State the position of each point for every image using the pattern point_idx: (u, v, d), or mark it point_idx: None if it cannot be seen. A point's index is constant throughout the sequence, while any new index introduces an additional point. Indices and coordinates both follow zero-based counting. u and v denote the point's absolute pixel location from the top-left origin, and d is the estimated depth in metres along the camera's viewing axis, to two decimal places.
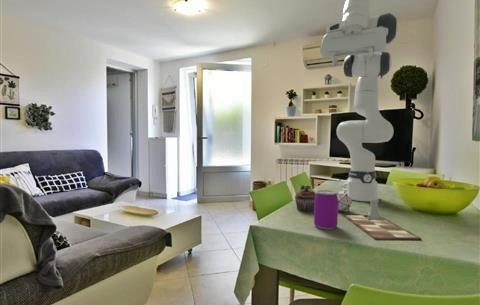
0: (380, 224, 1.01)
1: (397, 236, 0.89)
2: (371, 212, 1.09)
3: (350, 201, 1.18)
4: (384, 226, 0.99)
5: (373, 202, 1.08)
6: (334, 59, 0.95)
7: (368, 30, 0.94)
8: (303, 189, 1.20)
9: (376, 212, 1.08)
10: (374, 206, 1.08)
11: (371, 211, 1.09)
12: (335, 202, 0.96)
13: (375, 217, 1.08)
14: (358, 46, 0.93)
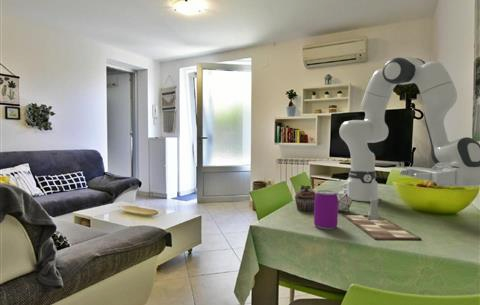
0: (380, 224, 1.01)
1: (397, 236, 0.89)
2: (371, 212, 1.09)
3: (350, 201, 1.18)
4: (384, 226, 0.99)
5: (373, 202, 1.08)
6: None
7: None
8: (303, 189, 1.20)
9: (376, 212, 1.08)
10: (374, 206, 1.08)
11: (371, 211, 1.09)
12: (335, 202, 0.96)
13: (375, 217, 1.08)
14: None
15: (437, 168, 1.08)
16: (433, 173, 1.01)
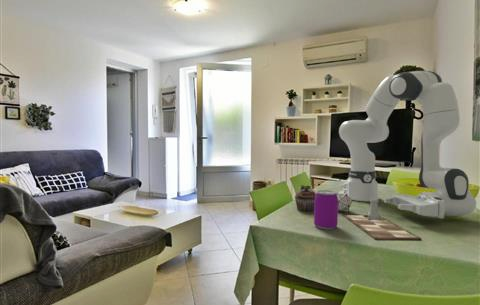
0: (380, 224, 1.01)
1: (397, 236, 0.89)
2: (371, 212, 1.09)
3: (350, 201, 1.18)
4: (384, 226, 0.99)
5: (373, 202, 1.08)
6: None
7: None
8: (303, 189, 1.20)
9: (376, 212, 1.08)
10: (374, 206, 1.08)
11: (371, 211, 1.09)
12: (335, 202, 0.96)
13: (375, 217, 1.08)
14: None
15: (421, 198, 1.08)
16: (416, 205, 1.02)
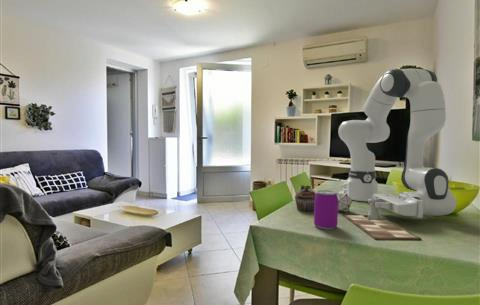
0: (380, 224, 1.01)
1: (397, 236, 0.89)
2: (371, 212, 1.09)
3: (350, 201, 1.18)
4: (384, 226, 0.99)
5: (373, 202, 1.08)
6: None
7: None
8: (303, 189, 1.20)
9: (376, 212, 1.08)
10: (374, 206, 1.08)
11: (371, 211, 1.09)
12: (335, 202, 0.96)
13: (375, 217, 1.08)
14: None
15: (401, 197, 1.08)
16: (395, 204, 1.02)
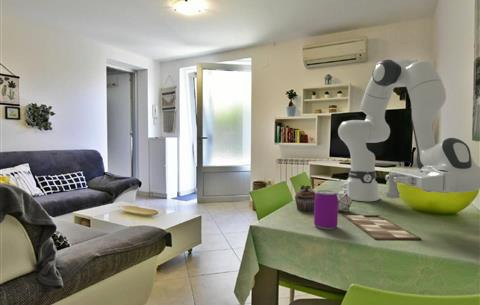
0: (380, 224, 1.01)
1: (397, 236, 0.89)
2: (390, 189, 0.96)
3: (350, 201, 1.18)
4: (384, 226, 0.99)
5: (392, 177, 0.96)
6: (398, 182, 0.94)
7: None
8: (303, 189, 1.20)
9: (395, 189, 0.95)
10: (393, 182, 0.96)
11: (390, 188, 0.96)
12: (335, 202, 0.96)
13: (394, 194, 0.95)
14: None
15: (423, 172, 0.96)
16: (418, 178, 0.89)
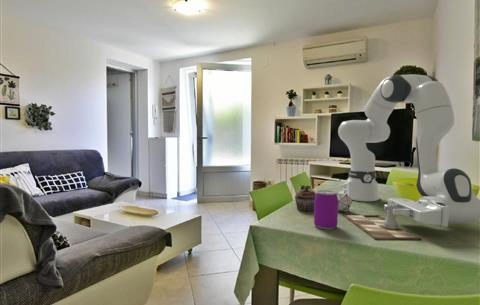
0: (380, 224, 1.01)
1: (397, 236, 0.89)
2: (388, 220, 0.97)
3: (350, 201, 1.18)
4: None
5: (390, 209, 0.96)
6: None
7: None
8: (303, 189, 1.20)
9: (394, 220, 0.96)
10: (391, 213, 0.96)
11: (388, 219, 0.97)
12: (335, 202, 0.96)
13: (393, 225, 0.96)
14: None
15: (422, 203, 0.96)
16: (416, 211, 0.90)
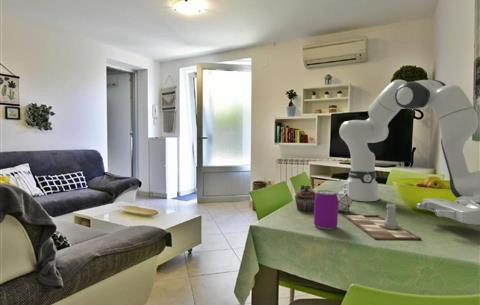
0: (380, 224, 1.01)
1: (397, 236, 0.89)
2: (388, 220, 0.97)
3: (350, 201, 1.18)
4: None
5: (390, 209, 0.96)
6: None
7: None
8: (303, 189, 1.20)
9: (394, 220, 0.96)
10: (391, 213, 0.96)
11: (388, 219, 0.97)
12: (335, 202, 0.96)
13: (393, 225, 0.96)
14: None
15: (460, 203, 0.96)
16: (458, 211, 0.90)
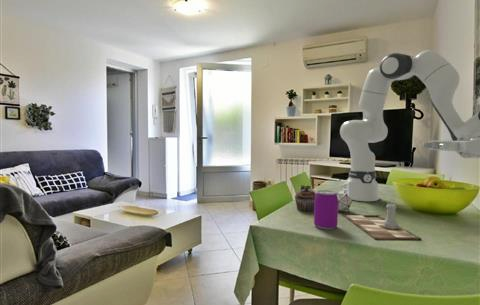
0: (380, 224, 1.01)
1: (397, 236, 0.89)
2: (388, 220, 0.97)
3: (350, 201, 1.18)
4: None
5: (390, 209, 0.96)
6: (445, 148, 0.99)
7: None
8: (303, 189, 1.20)
9: (394, 220, 0.96)
10: (391, 213, 0.96)
11: (388, 219, 0.97)
12: (335, 202, 0.96)
13: (393, 225, 0.96)
14: None
15: (463, 139, 1.03)
16: (461, 142, 0.97)
